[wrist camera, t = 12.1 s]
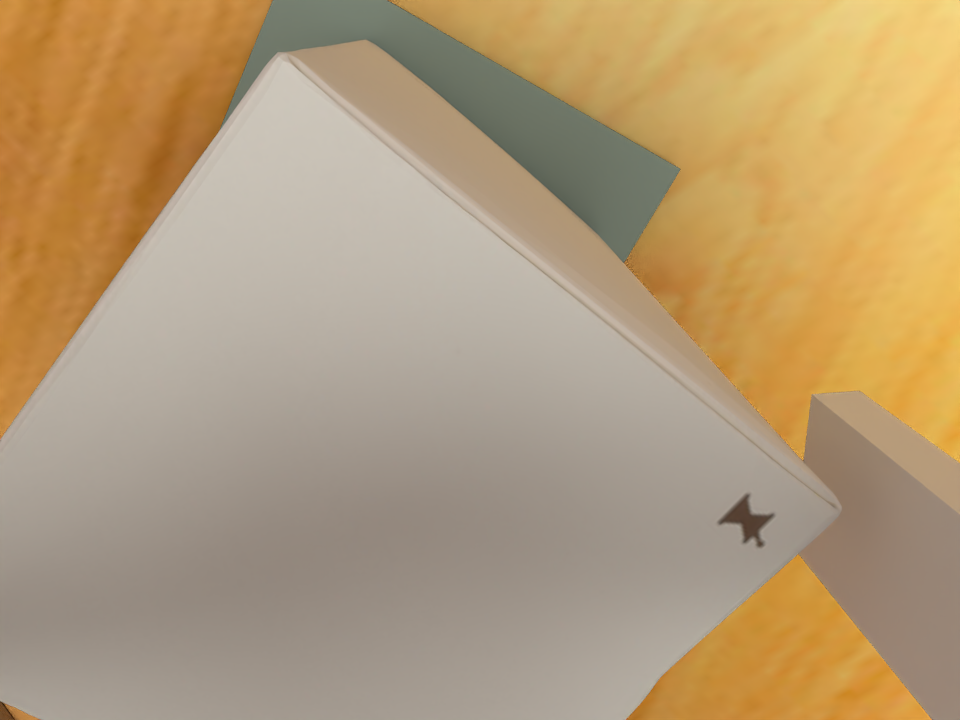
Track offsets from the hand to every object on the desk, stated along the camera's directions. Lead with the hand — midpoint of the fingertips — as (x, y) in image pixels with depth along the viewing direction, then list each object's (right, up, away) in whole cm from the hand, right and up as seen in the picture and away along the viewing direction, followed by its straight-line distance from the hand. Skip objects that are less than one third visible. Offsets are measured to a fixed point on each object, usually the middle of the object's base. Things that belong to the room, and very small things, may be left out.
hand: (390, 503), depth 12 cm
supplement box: (-1, +5, +12) cm, 13 cm away
